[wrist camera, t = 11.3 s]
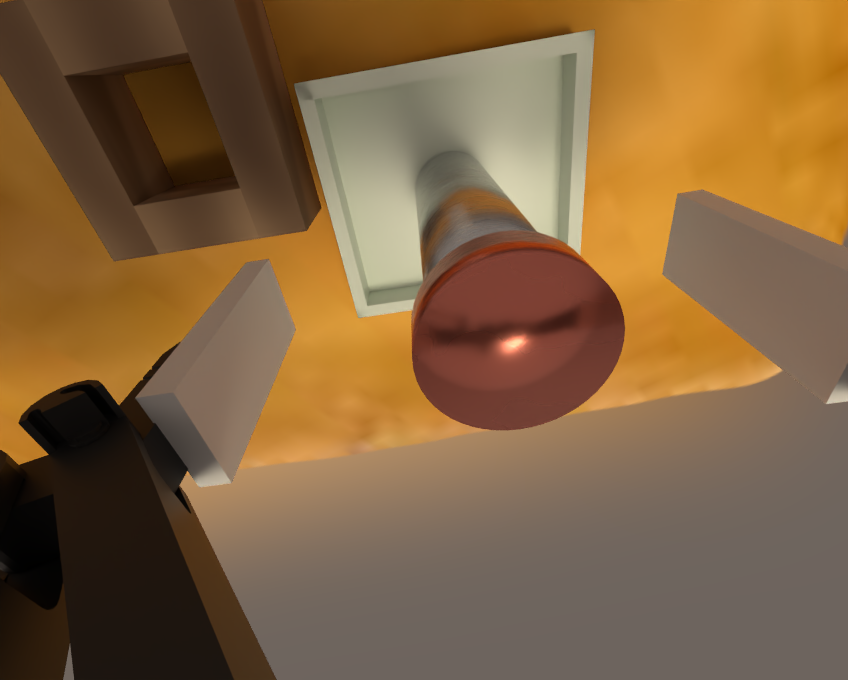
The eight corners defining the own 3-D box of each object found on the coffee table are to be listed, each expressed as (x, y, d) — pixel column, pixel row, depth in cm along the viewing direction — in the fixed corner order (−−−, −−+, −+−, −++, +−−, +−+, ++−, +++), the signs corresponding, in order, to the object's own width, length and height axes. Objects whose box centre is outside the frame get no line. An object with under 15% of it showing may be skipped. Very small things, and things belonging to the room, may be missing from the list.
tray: (362, 297, 27) (358, 317, 24) (306, 82, 20) (293, 83, 18) (563, 268, 26) (578, 286, 24) (573, 34, 19) (594, 29, 17)
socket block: (155, 234, 24) (113, 261, 21) (42, 21, 19) (-38, 11, 15) (321, 208, 23) (306, 230, 20) (256, -21, 18) (221, -41, 15)
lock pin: (415, 239, 24) (428, 441, 11) (400, 150, 21) (394, 275, 8) (497, 226, 23) (613, 416, 11) (493, 134, 21) (638, 236, 8)
